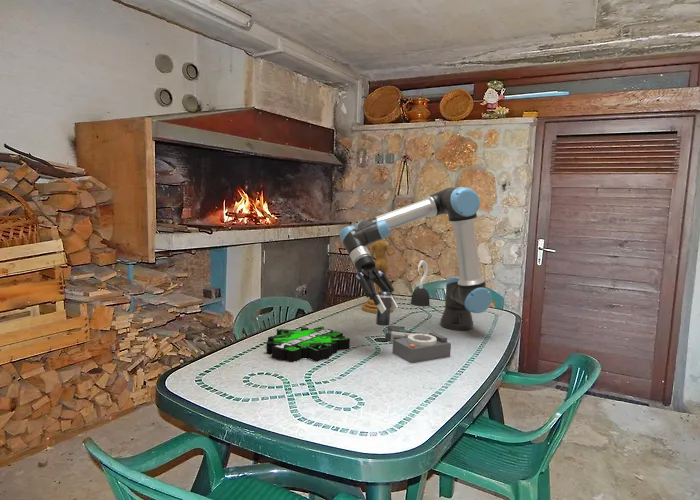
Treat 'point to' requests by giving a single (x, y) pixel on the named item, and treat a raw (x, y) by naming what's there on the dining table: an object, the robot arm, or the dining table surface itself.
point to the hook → (421, 290)
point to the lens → (384, 317)
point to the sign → (306, 344)
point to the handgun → (398, 333)
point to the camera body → (422, 347)
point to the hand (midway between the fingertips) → (389, 310)
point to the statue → (380, 265)
